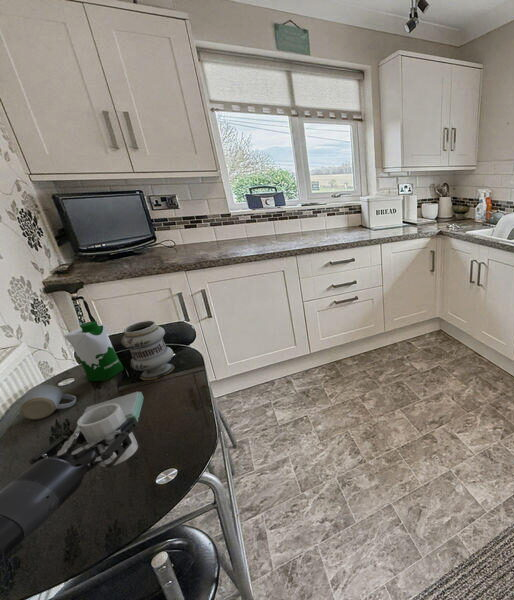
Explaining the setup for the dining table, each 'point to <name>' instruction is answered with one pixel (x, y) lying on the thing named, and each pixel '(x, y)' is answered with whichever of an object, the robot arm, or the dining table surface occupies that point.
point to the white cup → (105, 427)
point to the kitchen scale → (123, 406)
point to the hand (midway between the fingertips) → (116, 422)
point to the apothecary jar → (148, 349)
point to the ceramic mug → (44, 401)
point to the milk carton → (95, 351)
